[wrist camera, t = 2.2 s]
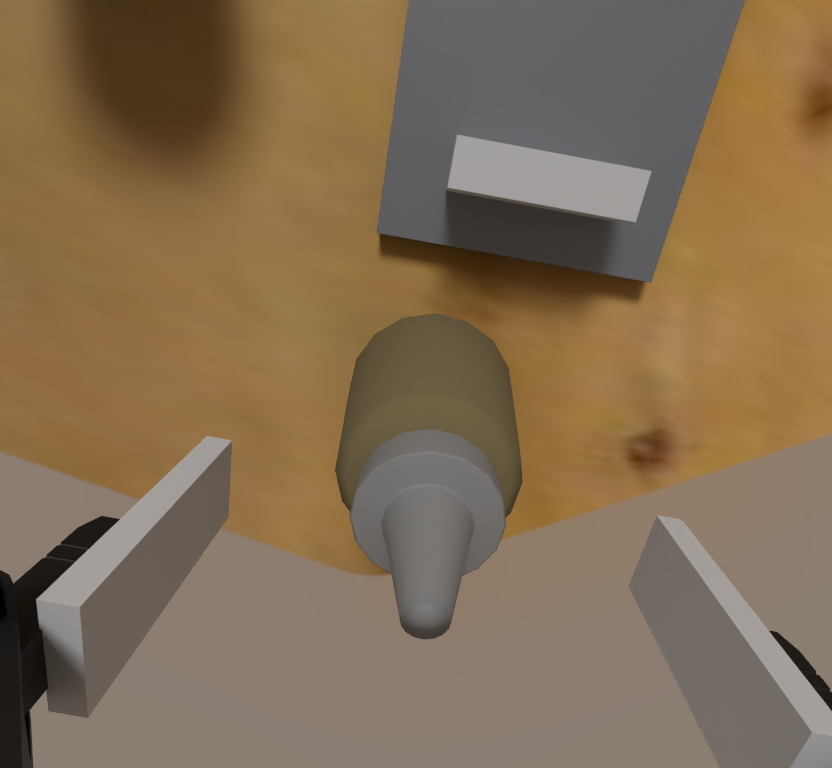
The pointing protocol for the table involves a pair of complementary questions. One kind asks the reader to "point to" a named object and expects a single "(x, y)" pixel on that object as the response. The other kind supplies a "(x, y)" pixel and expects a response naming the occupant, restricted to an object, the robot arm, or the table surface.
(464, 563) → the squeeze bottle
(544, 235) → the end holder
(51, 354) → the table surface
